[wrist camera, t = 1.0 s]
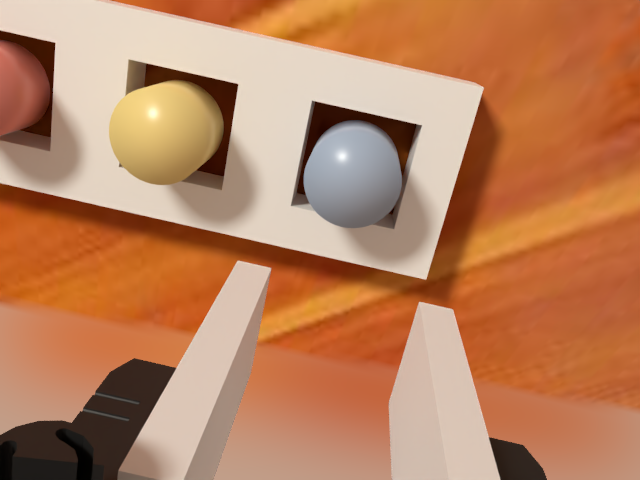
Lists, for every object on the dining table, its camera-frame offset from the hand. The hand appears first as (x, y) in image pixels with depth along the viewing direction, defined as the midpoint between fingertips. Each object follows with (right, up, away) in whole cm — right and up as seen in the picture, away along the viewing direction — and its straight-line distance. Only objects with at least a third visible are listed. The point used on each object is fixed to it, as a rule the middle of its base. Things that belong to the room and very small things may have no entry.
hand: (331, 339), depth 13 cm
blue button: (+1, +6, +17) cm, 18 cm away
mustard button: (-7, +8, +17) cm, 20 cm away
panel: (-7, +9, +18) cm, 22 cm away
